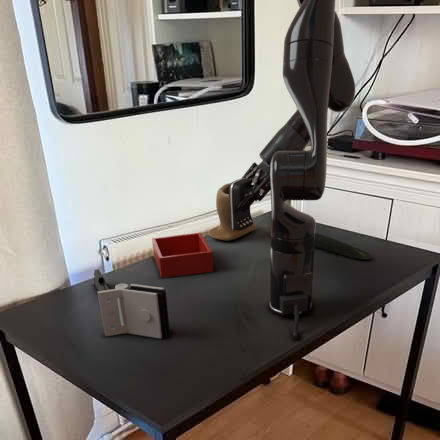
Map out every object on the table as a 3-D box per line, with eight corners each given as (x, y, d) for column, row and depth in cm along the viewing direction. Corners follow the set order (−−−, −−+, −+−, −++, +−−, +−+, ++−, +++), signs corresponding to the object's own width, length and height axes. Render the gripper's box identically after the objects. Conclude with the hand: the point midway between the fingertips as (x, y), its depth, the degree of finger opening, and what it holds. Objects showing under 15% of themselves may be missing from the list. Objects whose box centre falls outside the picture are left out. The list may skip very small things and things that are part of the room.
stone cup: (232, 247, 161) (231, 193, 152) (203, 238, 168) (200, 186, 159) (266, 233, 169) (267, 181, 161) (237, 225, 176) (236, 175, 168)
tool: (275, 244, 161) (275, 221, 158) (289, 237, 165) (289, 215, 161) (359, 266, 145) (361, 241, 142) (372, 259, 149) (375, 234, 145)
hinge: (103, 336, 119) (96, 292, 114) (111, 325, 124) (104, 282, 118) (167, 339, 117) (162, 294, 112) (173, 327, 122) (168, 283, 116)
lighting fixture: (122, 313, 129) (119, 296, 126) (110, 316, 128) (108, 299, 125) (105, 283, 143) (102, 267, 141) (94, 285, 142) (92, 269, 140)
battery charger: (241, 232, 137) (240, 184, 131) (229, 230, 139) (227, 182, 133) (257, 224, 142) (257, 177, 135) (245, 222, 144) (244, 175, 137)
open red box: (213, 271, 146) (212, 251, 144) (161, 277, 144) (159, 258, 141) (201, 251, 159) (200, 232, 156) (153, 256, 157) (151, 238, 154)
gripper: (263, 133, 136) (219, 188, 141) (282, 145, 125) (233, 204, 130) (284, 154, 140) (240, 207, 145) (304, 167, 129) (255, 224, 134)
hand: (236, 205), depth 137 cm, fingers closed on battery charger, 6 cm apart
